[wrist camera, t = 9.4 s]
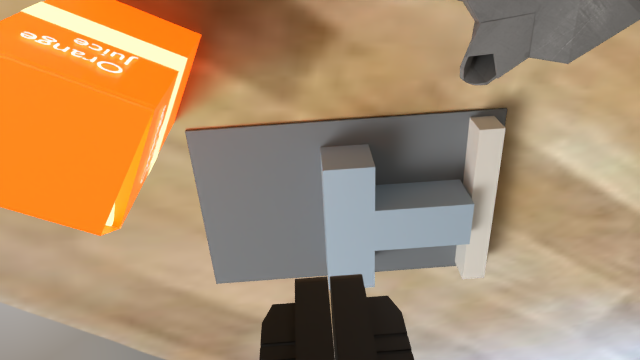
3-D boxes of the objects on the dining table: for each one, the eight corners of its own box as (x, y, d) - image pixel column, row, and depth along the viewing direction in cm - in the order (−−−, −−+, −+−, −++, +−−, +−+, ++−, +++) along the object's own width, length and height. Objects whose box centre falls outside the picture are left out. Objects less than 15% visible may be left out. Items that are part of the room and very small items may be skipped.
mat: (506, 108, 41) (507, 109, 41) (484, 262, 49) (485, 263, 49) (185, 130, 40) (185, 131, 40) (216, 282, 48) (216, 283, 48)
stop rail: (494, 115, 41) (505, 128, 39) (475, 260, 48) (484, 277, 46) (469, 117, 41) (479, 129, 39) (454, 261, 48) (462, 279, 46)
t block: (326, 261, 47) (329, 290, 44) (320, 147, 41) (322, 170, 38) (452, 252, 48) (464, 280, 44) (464, 137, 42) (479, 159, 38)
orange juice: (78, -17, 35) (-135, 75, 17) (203, 33, 37) (124, 161, 19) (59, 84, 38) (-135, 246, 21) (174, 124, 40) (85, 302, 23)
